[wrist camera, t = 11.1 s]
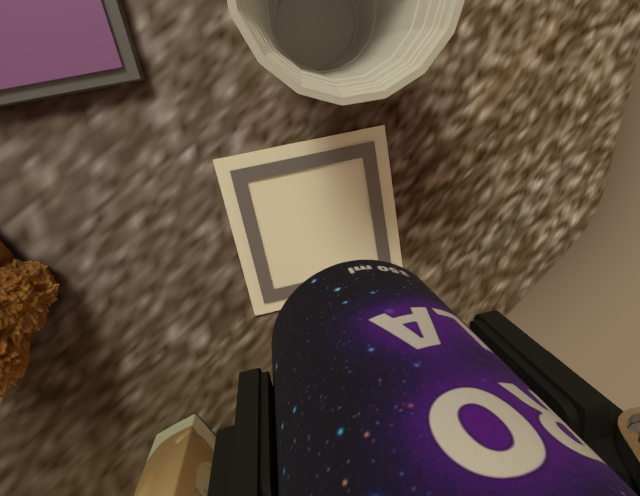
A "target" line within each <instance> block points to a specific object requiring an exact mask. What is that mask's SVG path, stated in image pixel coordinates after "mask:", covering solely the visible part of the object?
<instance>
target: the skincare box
mask: <svg viewBox="0 0 640 496" xmlns="http://www.w3.org/2000/svg"><path fill="white" fill-rule="evenodd" d="M215 439H216V436H215V435H214V434H213V433H212V432H211V431H210V429H209V428H208V427H207V426H206V425H205V424H204V423H203V422H202V421H201V419H200V418H199V417H198V416H197V415H196V414H193V415H191V416H190V417H188V418H186V419H184V420H182V421H180V422H178V423H176V424H175V425H173V426H171V427H169V428H167V429H166V430H164V431H162V432H160V433H159V434H157V435H156V438H155V440H154V443H153V446H152V448H151V451H150V454H149V457H148V459H147V462H146V464H145V467H144V470H143V473H142V475H141V478H140V481H139V483H138V486H137V489H136V491H135V494H134V496H207V493H208V487H209V480H210V473H211V466H212V460H213V453H214V446H215Z"/></svg>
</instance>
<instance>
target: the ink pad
mask: <svg viewBox="0 0 640 496" xmlns="http://www.w3.org/2000/svg"><path fill="white" fill-rule="evenodd" d="M140 81H145V77H144V74H143V70H142V67H141V64H140V61H139V57H138V54H137V51H136V48H135V44H134V41H133V38H132V34H131V31H130V28H129V25H128V21H127V18H126V15H125V12H124V8H123V5H122V2H121V0H0V108H1V107H6V106H11V105H17V104H22V103H27V102H33V101H38V100H43V99H49V98H54V97H59V96H65V95H70V94H75V93H81V92H86V91H91V90H97V89H102V88H108V87H113V86H118V85H124V84H129V83H134V82H140Z"/></svg>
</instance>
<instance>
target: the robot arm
mask: <svg viewBox="0 0 640 496" xmlns="http://www.w3.org/2000/svg"><path fill="white" fill-rule="evenodd" d="M470 329H471V330H472V331H473V332H474V333H475V334H476V335H477V336H478V337H479V338H480V339H481V340H482V341H483V342H484V343H485V344H486V345H487V346H488V347H489V348H490V349H491V350H492V351H493V352H494V353H495V354H496V355H497V356H498V357H499V358H500V359H501V360H502V361H503V362H504V363H505V364H506V365H507V366H508V367H509V368H510V369H511V370H512V371H513V372H514V373H515V374H516V375H517V376H518V377H519V378H520V379H521V380H522V381H523V382H524V383H525V384H526V385H527V386H528V387H529V388H530V389H531V390H532V391H533V392H534V393H535V394H536V395H537V396H538V397H539V398H540V399H541V400H542V401H543V402H544V403H545V404H546V405H547V406H548V407H549V408H550V409H551V410H552V411H553V412H554V413H555V414H556V415H557V416H558V417H559V418H560V419H561V420H562V421H563V422H564V423H565V424H566V425H567V426H568V427H569V428H570V429H571V430H572V431H573V432H574V433H575V434H576V435H577V436H578V437H579V438H581V439H582V440H583V441H584V442H585V443H586V444H587V445H588V446H589V447H590V448H591V449H592V450H593V451H594V452H595V453H596V454H597V455H598V456H599V457H600V458H601V459H602V460H603V461H604V462H605V463H606V464H607V465H608V466H609V467H610V468H611V469H612V470H613V471H614V472H615V473H616V474H617V475H618V476H619V477H620V478H621V479H622V480H623V481H624V482H625V483H626V484H627V485H628V486H629V487H630V488H631V489H632V490H633V491H634V492H635V493H636V494H637V495H638V496H640V407H637V408H631V409H628V410H626V411H622V410H621V409H620V408H618V407H617V406H616V405H615V404H613V403H612V402H611V401H610V400H608V399H607V398H606V397H605V396H603V395H602V394H601V393H600V392H598V391H597V390H596V389H595V388H593V387H592V386H591V385H590V384H588V383H587V382H586V381H585V380H584V379H582V378H581V377H580V376H579V375H577V374H576V373H575V372H573V371H572V370H571V369H570V368H568V367H567V366H566V365H565V364H563V363H562V362H561V361H560V360H558V359H557V358H556V357H555V356H554V355H552V354H551V353H550V352H548V351H547V350H545V349H544V348H543V347H542V346H540V345H539V344H538V343H537V342H535V341H534V340H533V339H532V338H530V337H529V336H528V335H527V334H525V333H524V332H523V331H522V330H521V329H519V328H518V327H517V326H516V325H514V324H513V323H512V322H511V321H509V320H508V319H507V318H506V317H504V316H503V315H502V314H501V313H499V312H498V311H496V310H493V311H489V312H485V313H481V314H477V315H476V316H475V318H474V321H471V322H470ZM207 496H277V474H276V448H275V422H274V396H273V385H272V382H271V378H270V374H269V372H268V371H267V372H263V373H262V372H261V369H260V368H256V369H252V370H248V371H244V372H240V374H239V383H238V394H237V405H236V416H235V425H234V426H230V427H226V428H222V429H219V430H218V431H217V434H216V439H215V446H214V453H213V460H212V466H211V473H210V480H209V487H208V493H207Z"/></svg>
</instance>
